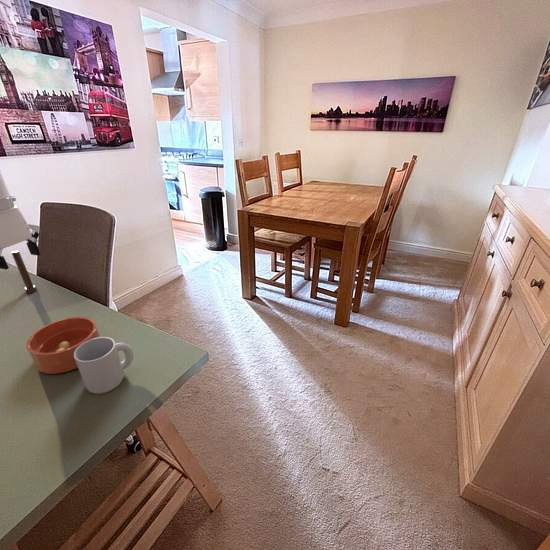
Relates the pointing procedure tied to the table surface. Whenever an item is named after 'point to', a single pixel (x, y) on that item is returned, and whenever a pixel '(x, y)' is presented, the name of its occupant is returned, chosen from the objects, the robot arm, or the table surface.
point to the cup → (102, 363)
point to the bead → (64, 345)
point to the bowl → (52, 335)
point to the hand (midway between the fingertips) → (20, 261)
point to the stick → (23, 272)
